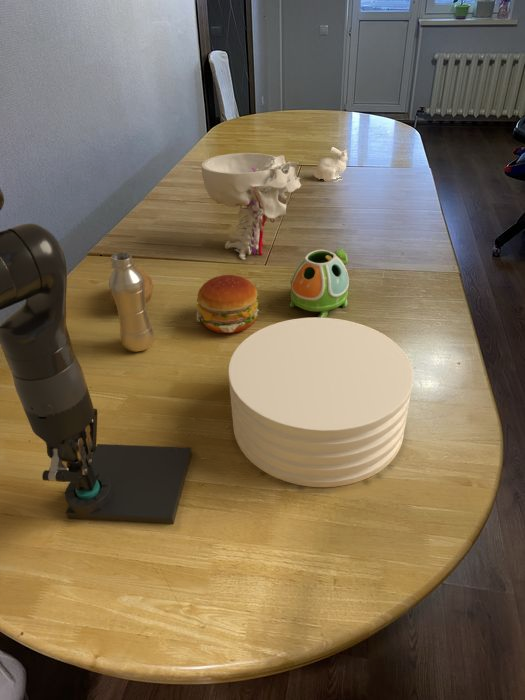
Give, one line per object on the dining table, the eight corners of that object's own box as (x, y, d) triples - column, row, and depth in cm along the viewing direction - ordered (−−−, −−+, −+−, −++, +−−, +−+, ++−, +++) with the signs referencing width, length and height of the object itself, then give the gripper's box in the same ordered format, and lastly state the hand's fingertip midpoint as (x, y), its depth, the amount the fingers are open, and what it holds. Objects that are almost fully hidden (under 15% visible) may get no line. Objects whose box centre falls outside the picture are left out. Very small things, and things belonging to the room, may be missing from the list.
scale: (63, 519, 72) (57, 505, 70) (96, 449, 82) (91, 436, 80) (173, 525, 70) (170, 511, 69) (192, 453, 81) (189, 440, 79)
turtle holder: (366, 291, 121) (371, 243, 114) (327, 326, 109) (329, 276, 102) (320, 277, 127) (322, 232, 120) (278, 310, 115) (278, 261, 108)
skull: (207, 264, 135) (198, 176, 121) (211, 235, 150) (203, 154, 137) (303, 260, 135) (304, 171, 121) (297, 232, 150) (298, 150, 137)
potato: (154, 286, 126) (149, 256, 121) (157, 316, 115) (151, 284, 110) (113, 291, 124) (106, 261, 120) (112, 322, 113) (104, 290, 109)
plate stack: (407, 498, 73) (419, 440, 66) (214, 475, 77) (207, 419, 70) (400, 375, 95) (408, 322, 88) (250, 363, 99) (248, 312, 93)
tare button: (74, 503, 72) (71, 495, 71) (83, 485, 74) (80, 477, 73) (97, 504, 71) (94, 496, 70) (104, 486, 74) (102, 478, 73)
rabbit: (344, 175, 191) (347, 141, 184) (349, 183, 184) (351, 148, 177) (312, 176, 191) (313, 143, 184) (315, 185, 184) (316, 150, 177)
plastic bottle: (130, 336, 108) (111, 247, 97) (160, 339, 107) (145, 249, 96) (117, 353, 103) (95, 263, 92) (149, 357, 102) (131, 265, 90)
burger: (262, 336, 107) (260, 294, 101) (196, 341, 106) (191, 299, 100) (257, 303, 118) (256, 263, 112) (198, 307, 117) (193, 267, 111)
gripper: (47, 358, 67) (79, 450, 78) (-4, 429, 57) (41, 526, 67) (102, 359, 67) (127, 452, 77) (62, 431, 56) (97, 529, 66)
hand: (87, 486), depth 72 cm, fingers closed
